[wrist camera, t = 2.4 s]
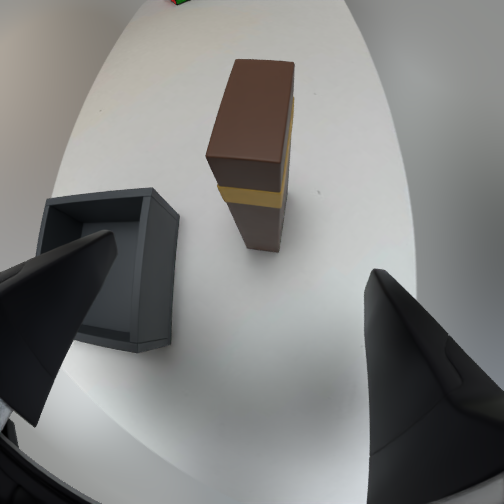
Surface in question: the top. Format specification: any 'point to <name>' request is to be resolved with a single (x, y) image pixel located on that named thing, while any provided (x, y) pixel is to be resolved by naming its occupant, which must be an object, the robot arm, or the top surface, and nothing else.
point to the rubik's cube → (179, 1)
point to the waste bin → (122, 263)
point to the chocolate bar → (255, 148)
